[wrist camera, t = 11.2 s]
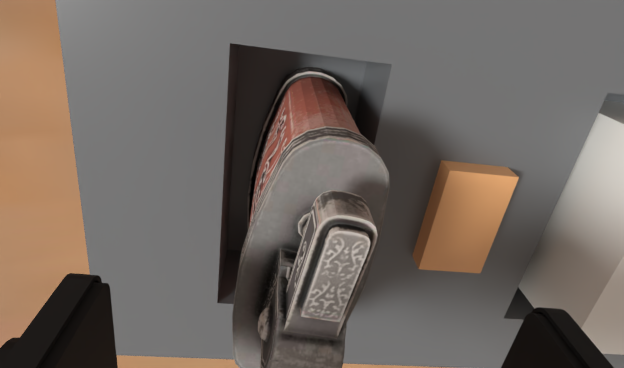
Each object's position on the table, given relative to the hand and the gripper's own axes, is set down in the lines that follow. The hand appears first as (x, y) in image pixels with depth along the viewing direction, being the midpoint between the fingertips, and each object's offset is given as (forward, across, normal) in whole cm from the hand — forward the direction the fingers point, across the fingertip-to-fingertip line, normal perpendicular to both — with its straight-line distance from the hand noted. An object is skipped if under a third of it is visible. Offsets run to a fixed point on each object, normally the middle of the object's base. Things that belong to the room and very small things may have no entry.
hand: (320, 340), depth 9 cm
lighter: (+10, 0, 0) cm, 10 cm away
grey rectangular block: (+10, -5, 0) cm, 12 cm away
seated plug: (+10, -11, 0) cm, 15 cm away
